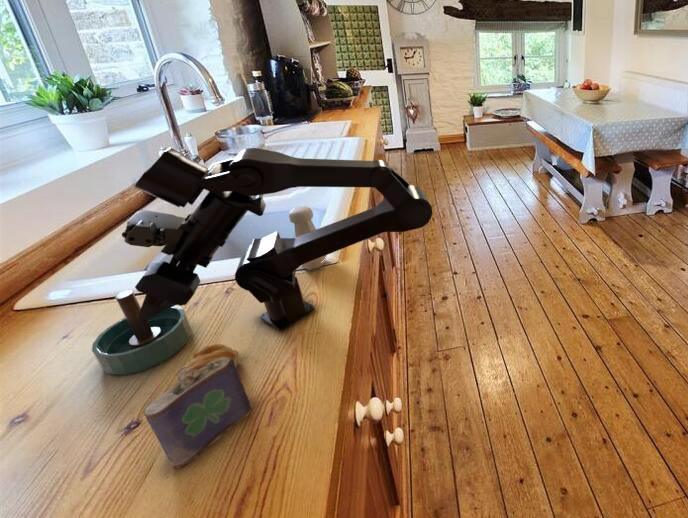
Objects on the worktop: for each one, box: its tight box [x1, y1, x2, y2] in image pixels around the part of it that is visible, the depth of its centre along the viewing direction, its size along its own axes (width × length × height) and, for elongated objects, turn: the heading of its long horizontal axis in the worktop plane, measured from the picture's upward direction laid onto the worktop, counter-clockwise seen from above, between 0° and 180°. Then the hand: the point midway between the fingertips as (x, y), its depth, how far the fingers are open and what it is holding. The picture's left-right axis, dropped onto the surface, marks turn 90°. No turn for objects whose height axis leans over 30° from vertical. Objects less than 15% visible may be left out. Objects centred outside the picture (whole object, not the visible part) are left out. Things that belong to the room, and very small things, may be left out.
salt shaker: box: [288, 205, 327, 271], centre depth 83 cm, size 6×6×13 cm
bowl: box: [91, 305, 193, 375], centre depth 64 cm, size 11×11×4 cm
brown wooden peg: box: [115, 289, 163, 350], centre depth 63 cm, size 4×4×10 cm
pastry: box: [183, 343, 239, 371], centre depth 57 cm, size 9×7×4 cm
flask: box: [143, 357, 253, 469], centre depth 49 cm, size 9×3×11 cm, turn 151°
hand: (154, 298), depth 63 cm, fingers open, 9 cm apart
